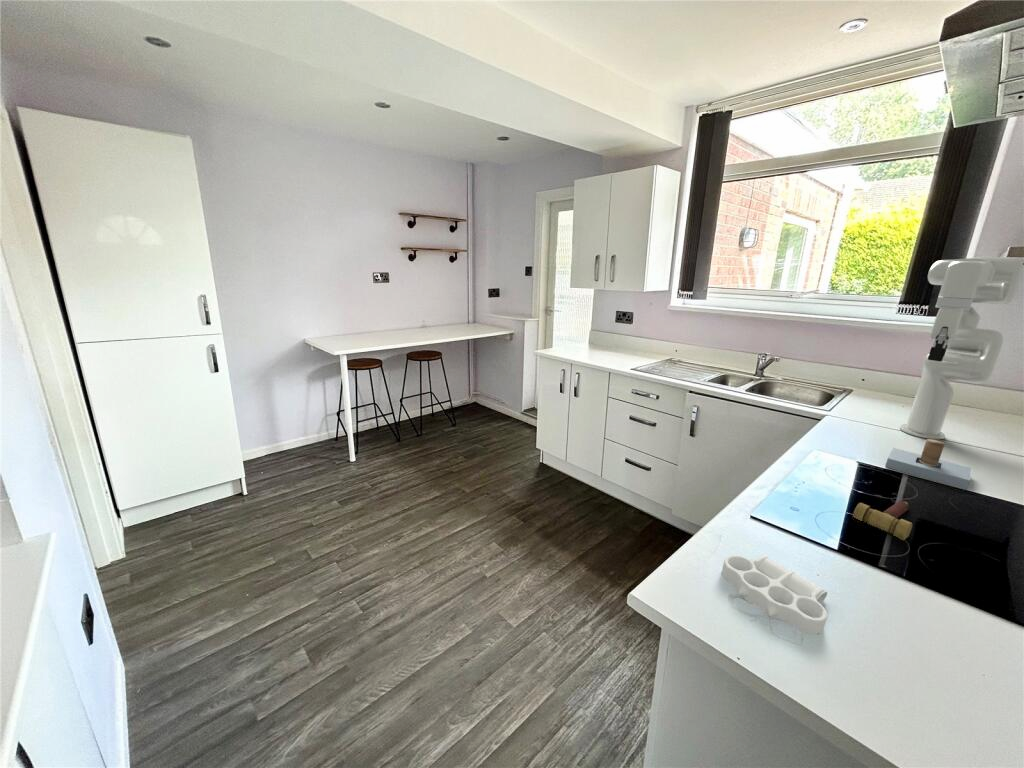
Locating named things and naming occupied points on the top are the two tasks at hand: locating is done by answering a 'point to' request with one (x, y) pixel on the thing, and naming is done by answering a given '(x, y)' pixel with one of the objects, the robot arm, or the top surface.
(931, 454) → the peg
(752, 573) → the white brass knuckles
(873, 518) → the gavel
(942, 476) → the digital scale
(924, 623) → the top surface
